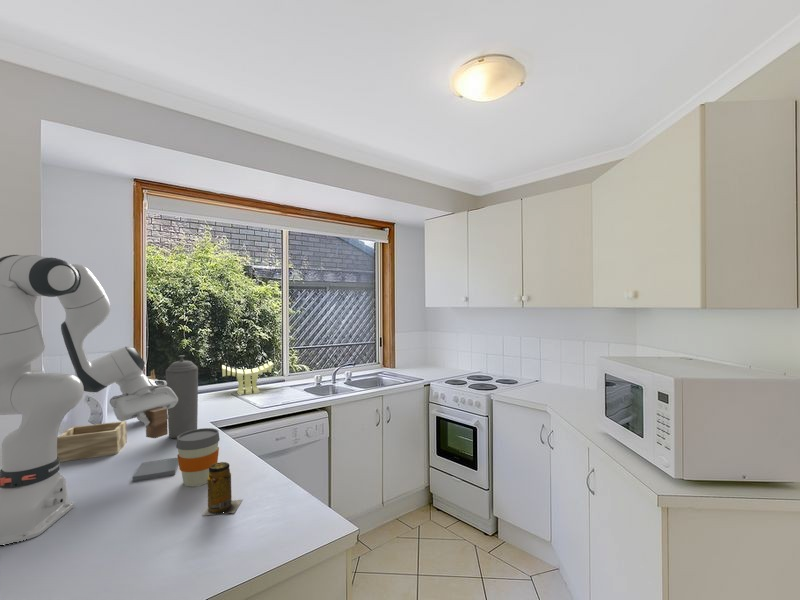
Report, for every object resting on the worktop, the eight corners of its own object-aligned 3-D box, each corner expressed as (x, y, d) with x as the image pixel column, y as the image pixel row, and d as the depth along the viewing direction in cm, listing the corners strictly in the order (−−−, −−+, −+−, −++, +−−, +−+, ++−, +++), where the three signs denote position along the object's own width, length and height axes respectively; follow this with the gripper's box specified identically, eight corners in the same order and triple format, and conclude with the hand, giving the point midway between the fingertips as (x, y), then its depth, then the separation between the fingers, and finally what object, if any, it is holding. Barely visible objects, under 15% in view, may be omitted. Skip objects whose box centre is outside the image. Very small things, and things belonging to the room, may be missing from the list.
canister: (205, 432, 173) (204, 354, 173) (179, 441, 162) (177, 358, 162) (186, 428, 179) (185, 352, 179) (159, 437, 167) (158, 356, 167)
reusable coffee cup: (178, 493, 117) (177, 444, 117) (175, 478, 128) (174, 432, 128) (223, 482, 124) (222, 435, 124) (217, 468, 135) (216, 425, 135)
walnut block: (167, 434, 135) (167, 408, 135) (155, 438, 131) (154, 411, 131) (158, 432, 137) (158, 407, 137) (146, 436, 132) (145, 410, 133)
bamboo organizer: (117, 453, 150) (116, 430, 150) (57, 462, 143) (56, 437, 143) (126, 442, 162) (126, 420, 162) (71, 449, 155) (71, 427, 155)
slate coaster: (175, 474, 131) (174, 470, 131) (132, 481, 126) (132, 476, 126) (180, 461, 142) (180, 457, 142) (141, 467, 137) (141, 462, 137)
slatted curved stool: (271, 386, 264) (270, 360, 264) (273, 391, 250) (273, 363, 250) (222, 391, 252) (222, 364, 252) (222, 396, 238) (222, 367, 238)
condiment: (212, 502, 112) (211, 461, 112) (242, 500, 113) (241, 459, 113) (201, 516, 105) (201, 472, 105) (234, 514, 106) (233, 470, 106)
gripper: (111, 391, 127) (131, 424, 123) (169, 379, 146) (188, 408, 142) (103, 404, 129) (122, 437, 125) (161, 390, 147) (180, 419, 144)
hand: (157, 421), depth 134 cm, fingers closed on walnut block, 4 cm apart
